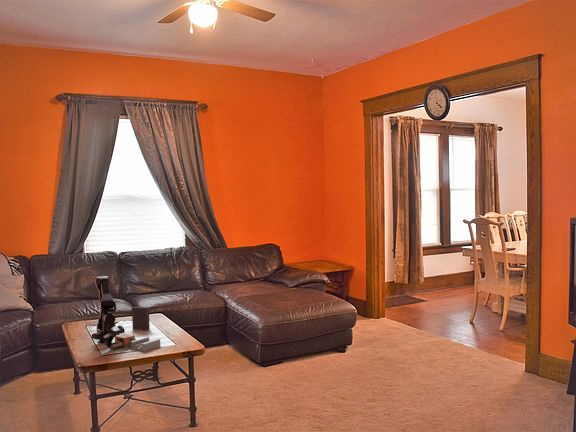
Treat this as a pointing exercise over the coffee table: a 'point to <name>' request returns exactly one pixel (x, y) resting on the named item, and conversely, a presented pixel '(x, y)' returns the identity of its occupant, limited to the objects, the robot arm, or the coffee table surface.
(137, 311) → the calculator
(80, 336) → the coffee table surface
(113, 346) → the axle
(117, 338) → the orange brown notched block
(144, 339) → the v block
